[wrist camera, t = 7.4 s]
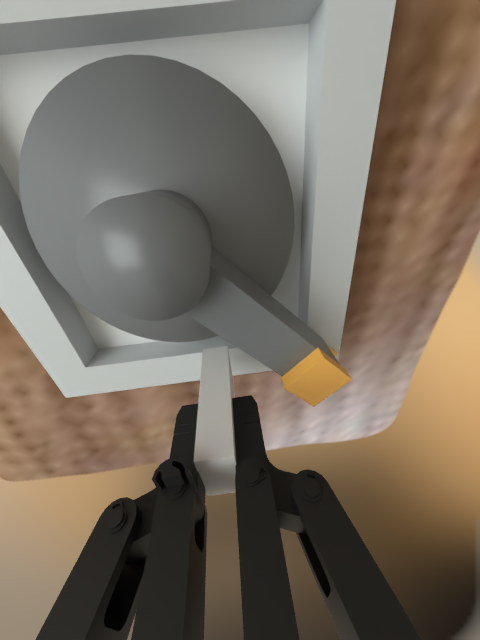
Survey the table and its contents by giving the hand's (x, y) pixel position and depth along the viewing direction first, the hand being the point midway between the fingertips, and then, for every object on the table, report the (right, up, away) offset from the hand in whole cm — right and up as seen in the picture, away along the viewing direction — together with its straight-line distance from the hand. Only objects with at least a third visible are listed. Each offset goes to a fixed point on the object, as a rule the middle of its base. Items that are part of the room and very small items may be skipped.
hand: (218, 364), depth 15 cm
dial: (-1, +7, 0) cm, 7 cm away
